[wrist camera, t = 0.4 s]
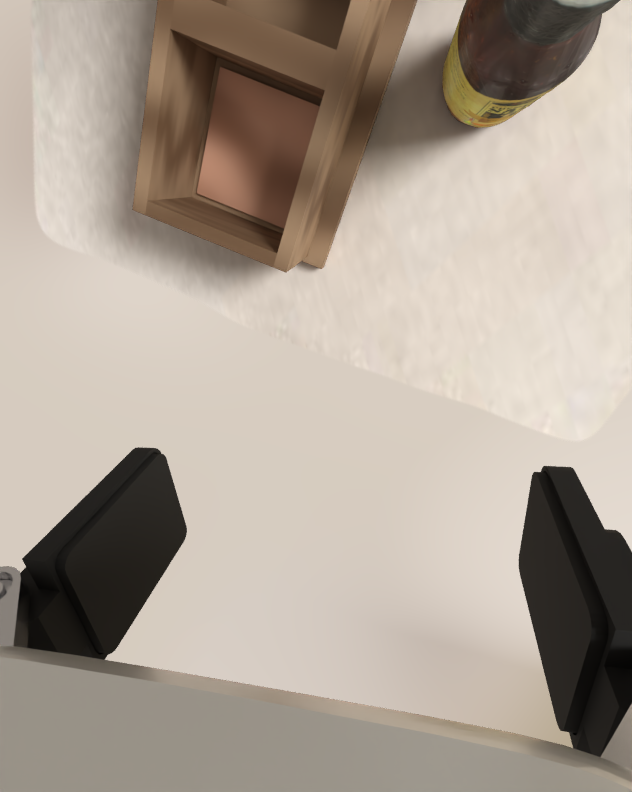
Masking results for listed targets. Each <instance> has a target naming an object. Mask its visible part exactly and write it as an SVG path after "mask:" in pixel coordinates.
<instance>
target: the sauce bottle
mask: <svg viewBox="0 0 632 792" xmlns="http://www.w3.org/2000/svg"><path fill="white" fill-rule="evenodd" d="M619 1H620V0H466V3H465V5H464V8H463V10H462V13H461V16H460V19H459V22H458V25H457V28H456V31H455V34H454V37H453V40H452V43H451V46H450V48H449V51H448V55H447V57H446V60H445V64H444V68H443V86H442V88H443V92H444V97H445V101H446V104H447V106H448V109H449V110H450V112H451V114H452V115H453V116H454V117H455V118H456V119H457V120H458V121H460V122H462V123H464V124H467V125H471V126H474V127H477V128H478V127H480V128H481V127H491V126H494V125H497V124H500V123H502V122H504V121H506V120H508V119H509V118H511V117H512V116H514V115H515V114H517V113H518V112H520V111H521V110H523V109H524V108H526V107H528V106H530V105H531V104H532V103H533V102H535V101H536V100H537V99H539V98H541V97H542V96H544V95H545V94H546V93H548V92H549V91H551V90H552V89H554V88H555V87H557V86H558V85H559V84H560V83H562V82H563V81H565V80H566V79H567V78H568V77H569V76H570V75H571V74H572V73H573V72H574V71H575V70H576V69H577V68H578V67H579V66H580V65H581V63H582V62H583V61H584V60H585V58H586V57H587V55H588V54H589V52H590V50H591V48H592V46H593V44H594V42H595V40H596V37H597V35H598V31H599V28H600V23H601V17H602V13H604V12H606V11H608V10H609V9H610V8H612V7H613V6H614V5H615V4H616V3H618V2H619Z"/></svg>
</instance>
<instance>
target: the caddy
mask: <svg viewBox="0 0 632 792" xmlns="http://www.w3.org/2000/svg"><path fill="white" fill-rule="evenodd" d="M416 3H417V0H158V2H157V11H156V19H155V27H154V36H153V44H152V52H151V61H150V69H149V77H148V86H147V94H146V102H145V110H144V119H143V127H142V135H141V144H140V152H139V160H138V169H137V177H136V185H135V194H134V202H133V210H134V211H137V212H139V213H142V214H144V215H147V216H149V217H151V218H154V219H156V220H159V221H161V222H164V223H166V224H169V225H171V226H173V227H176V228H178V229H181V230H183V231H186V232H188V233H191V234H193V235H196V236H198V237H200V238H203V239H205V240H208V241H210V242H213V243H215V244H218V245H220V246H222V247H225V248H227V249H230V250H232V251H235V252H237V253H240V254H242V255H245V256H247V257H249V258H252V259H254V260H257V261H259V262H262V263H264V264H267V265H269V266H271V267H274V268H276V269H279V270H281V271H284V272H287V271H289V270H290V269H291V268H293V267H294V266H296V265H297V264H298V263H300V262H301V261H303V262H306V263H308V264H310V265H313V266H315V267H318V268H320V269H322V268H323V267H324V265H325V262H326V260H327V257H328V254H329V251H330V248H331V245H332V243H333V240H334V237H335V234H336V231H337V228H338V225H339V223H340V220H341V217H342V214H343V211H344V208H345V205H346V203H347V200H348V197H349V194H350V191H351V188H352V185H353V183H354V180H355V177H356V174H357V171H358V168H359V165H360V163H361V160H362V157H363V154H364V151H365V148H366V146H367V143H368V140H369V137H370V134H371V131H372V128H373V126H374V123H375V120H376V117H377V114H378V111H379V108H380V106H381V103H382V100H383V97H384V94H385V91H386V88H387V86H388V83H389V80H390V77H391V74H392V71H393V68H394V66H395V63H396V60H397V57H398V54H399V51H400V48H401V46H402V43H403V40H404V37H405V34H406V31H407V29H408V26H409V23H410V20H411V17H412V14H413V11H414V9H415V6H416Z"/></svg>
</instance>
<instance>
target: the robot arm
mask: <svg viewBox="0 0 632 792" xmlns="http://www.w3.org/2000/svg"><path fill="white" fill-rule="evenodd" d="M186 533H187V528H186V524H185V520H184V517H183V514H182V510H181V507H180V503H179V500H178V497H177V493H176V490H175V486H174V483H173V480H172V476H171V473H170V470H169V466H168V463H167V459H166V457H165V456H164V455H163V454H161V452H160V451H159V450H158V449H156V448H135V449H133V450H132V451H131V452H130V453H129V454H128V455H127V456H126V457H125V458H124V459H123V460H122V461H121V462H120V463H119V464H118V465H117V466H116V467H115V468H114V469H113V470H112V471H111V472H110V473H109V474H108V475H107V476H106V477H105V478H104V479H103V480H102V481H101V482H100V483H99V484H98V485H97V486H96V487H95V488H94V489H93V490H92V491H91V492H90V493H89V494H88V495H87V496H85V498H83V499H82V500H81V501H80V502H79V503H78V504H77V506H75V507H74V508H73V509H72V510H71V511H70V512H69V513H68V514H67V515H66V516H65V517H64V518H63V519H62V520H61V521H60V522H59V523H58V524H57V525H56V526H55V527H54V528H53V529H52V530H51V531H50V532H49V533H48V534H47V535H46V536H45V537H44V538H43V539H42V540H41V541H40V542H39V543H38V544H37V545H36V546H35V547H34V548H33V549H32V550H31V551H30V552H29V553H28V554H27V555H26V556H25V557H24V558H23V559H22V560H23V562H24V563H25V565H26V568H25V569H24V570H23V571H22V572H21V573H20V572H19V571H18V570H17V569H16V568H14V567H9V566H6V567H0V792H632V552H631V550H630V548H629V546H628V544H627V543H626V541H625V539H624V538H623V536H622V535H621V533H619V532H618V531H616V530H605V529H604V527H603V525H602V523H601V521H600V520H599V517H598V515H597V514H596V512H595V510H594V508H593V506H592V504H591V502H590V500H589V498H588V496H587V494H586V492H585V490H584V488H583V486H582V484H581V482H580V480H579V479H578V477H577V474H576V473H575V471H574V469H573V468H571V467H555V466H544V467H543V468H542V471H541V472H534V473H533V475H532V480H531V487H530V492H529V498H528V505H527V511H526V517H525V523H524V529H523V535H522V541H521V548H520V554H519V571H520V576H521V579H522V584H523V588H524V592H525V596H526V600H527V604H528V608H529V612H530V616H531V620H532V624H533V628H534V632H535V636H536V640H537V644H538V649H539V653H540V656H541V660H542V665H543V669H544V673H545V676H546V681H547V685H548V689H549V693H550V697H551V701H552V705H553V709H554V713H555V717H556V721H557V724H558V726H559V729H560V730H561V731H566V732H569V733H570V737H571V740H572V745H573V748H571V747H567V746H564V745H560V744H556V743H552V742H548V741H544V740H540V739H536V738H532V737H528V736H524V735H519V734H515V733H511V732H505V731H500V730H495V729H490V728H485V727H480V726H475V725H470V724H464V723H460V722H455V721H450V720H445V719H439V718H434V717H429V716H424V715H418V714H412V713H407V712H401V711H396V710H390V709H385V708H379V707H374V706H368V705H362V704H357V703H351V702H346V701H339V700H335V699H329V698H323V697H318V696H312V695H307V694H301V693H295V692H289V691H284V690H278V689H272V688H266V687H260V686H255V685H249V684H243V683H238V682H232V681H226V680H220V679H215V678H209V677H203V676H197V675H191V674H185V673H180V672H174V671H168V670H162V669H156V668H150V667H144V666H138V665H132V664H126V663H120V662H114V661H108V660H105V658H106V656H107V655H108V654H110V653H112V652H113V651H115V649H116V648H117V647H118V645H119V643H120V642H121V640H122V639H123V637H124V635H125V634H126V632H127V630H128V629H129V627H130V626H131V624H132V623H133V621H134V619H135V618H136V616H137V615H138V613H139V611H140V610H141V609H142V607H143V605H144V604H145V602H146V600H147V599H148V597H149V596H150V594H151V592H152V591H153V589H154V588H155V586H156V584H157V583H158V581H159V580H160V578H161V577H162V575H163V574H164V572H165V570H166V569H167V567H168V566H169V564H170V562H171V560H172V559H173V558H174V556H175V554H176V553H177V551H178V550H179V548H180V547H181V545H182V543H183V542H184V540H185V537H186Z"/></svg>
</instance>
